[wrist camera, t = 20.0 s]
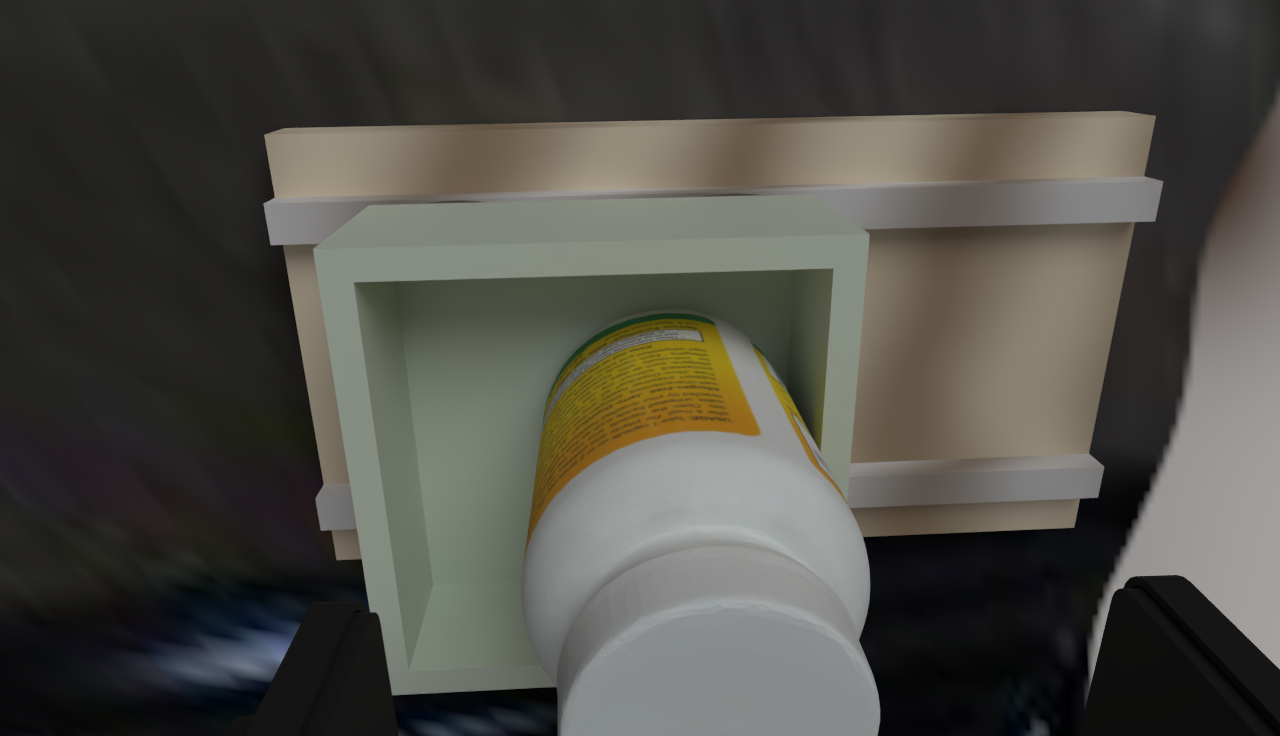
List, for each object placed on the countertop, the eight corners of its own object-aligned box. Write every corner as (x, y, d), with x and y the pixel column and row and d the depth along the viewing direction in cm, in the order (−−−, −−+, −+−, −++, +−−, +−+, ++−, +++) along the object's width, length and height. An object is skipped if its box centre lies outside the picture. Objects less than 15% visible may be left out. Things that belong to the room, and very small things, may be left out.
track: (1121, 110, 23) (1175, 119, 21) (1049, 502, 27) (1088, 542, 25) (285, 128, 22) (251, 138, 20) (350, 532, 26) (328, 576, 24)
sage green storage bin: (793, 179, 21) (870, 233, 15) (776, 524, 24) (832, 672, 18) (389, 189, 20) (312, 249, 15) (431, 539, 24) (383, 695, 18)
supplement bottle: (826, 373, 19) (1034, 669, 10) (698, 552, 21) (782, 944, 12) (619, 255, 18) (652, 474, 9) (500, 454, 19) (424, 811, 11)
